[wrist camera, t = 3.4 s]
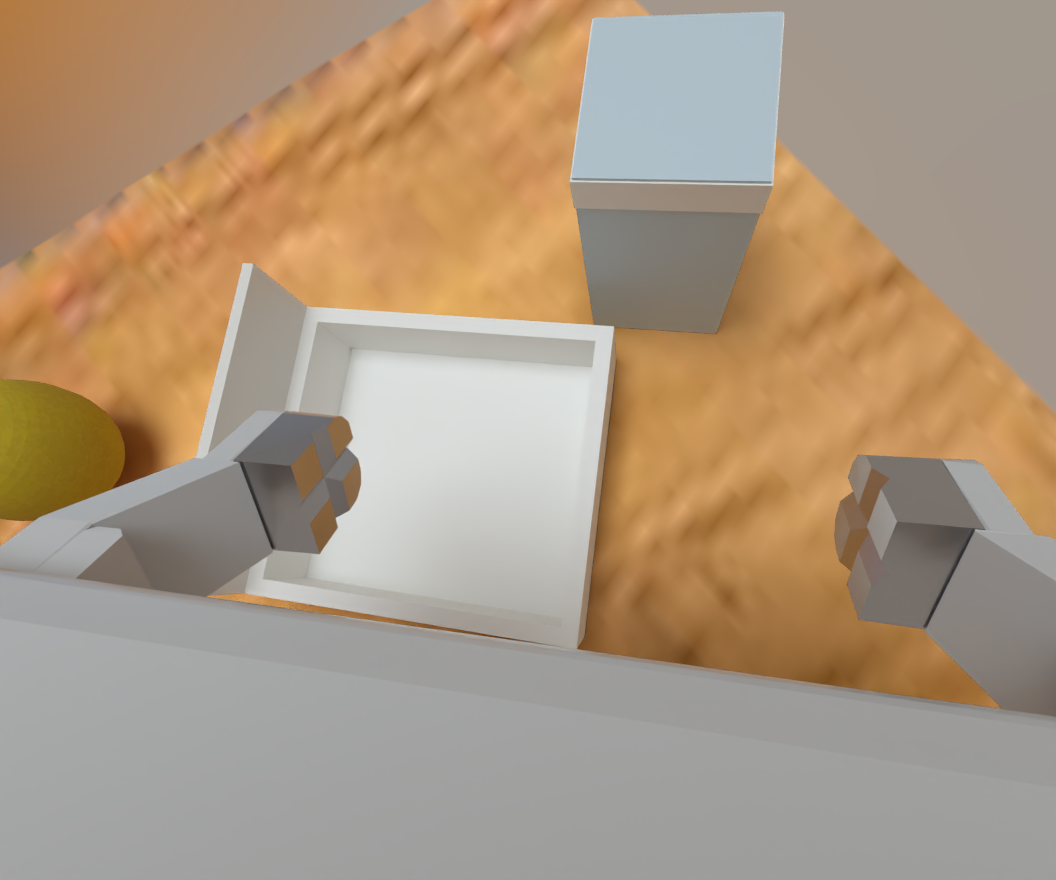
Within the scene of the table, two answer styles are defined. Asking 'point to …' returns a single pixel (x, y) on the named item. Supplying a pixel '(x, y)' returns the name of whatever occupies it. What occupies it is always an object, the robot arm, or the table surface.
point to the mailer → (434, 458)
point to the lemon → (53, 449)
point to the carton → (674, 162)
